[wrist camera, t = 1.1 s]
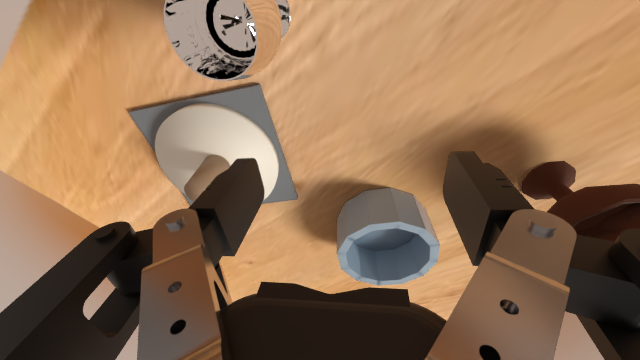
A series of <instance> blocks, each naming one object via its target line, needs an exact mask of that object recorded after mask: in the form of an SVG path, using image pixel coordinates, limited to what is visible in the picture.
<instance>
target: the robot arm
mask: <svg viewBox="0 0 640 360" xmlns="http://www.w3.org/2000/svg"><path fill="white" fill-rule="evenodd" d="M264 194H265V192H264V185H263V182H262V178H261V174H260V171H259V167H258V163H257V161H256V159H255V158H238V159H236V160H235V161H234V162H233V164H232V165H231V166H230V167H229V168H228V170H225V171H224V172H222V173H220V174H219V175H217V176H216V177H215V178H214V180H213V181H212V182H211V184H209V185H208V186H207V188H206V189H205V190H204V191H203V192H202V193H201V194H200V196H199V197H198V198H197V199H196V200H195V201H194V202H193V204H192V205H191V206H190V207H189V208H188V209H180V210H176V211H173V212H171V213H169V214H167V215H165V216H164V217H162V218H161V219H160V220H159V221H158V222H157V223H156V224H155V225H154V227H153V228H152V229H148V230H143V231H138V232H135V231H134V230H133V228H132V227H131V225H130V224H129V223H127V222H115V223H111V224H108V225H106V226H103V227H101V228H99V229H98V230H96V231H94V232H93V233H91V234H90V235H89V236H88V237H87V238H85V239H84V240H83V241H82V242H81V243H80V244H79V245H78V246H76V247H75V248H74V249H73V250H72V251H71V252H69V253H68V254H67V255H66V256H65V257H64V258H63V259H61V260H60V261H59V262H58V263H57V264H56V265H55V266H53V267H52V268H51V269H50V270H49V271H48V272H47V273H46V274H44V275H43V276H42V277H41V278H40V279H39V280H38V281H36V282H35V283H34V284H33V285H32V286H31V287H30V288H29V289H27V290H26V291H25V292H24V293H23V294H22V295H21V296H19V297H18V298H17V299H16V300H15V301H14V302H12V303H11V304H10V305H9V306H8V307H7V308H6V309H4V310H3V311H2V312H1V313H0V360H115V359H116V358H117V356H118V355H119V353H120V352H121V350H122V349H123V347H124V346H125V344H126V342H127V341H128V340H129V338H130V336H131V335H132V333H133V332H134V330H135V329H136V327H137V326H138V324H139V332H138V352H137V360H553V358H554V354H555V350H556V346H557V342H558V337H559V333H560V329H561V325H562V321H563V317H564V313H565V311H567V312H570V313H573V314H576V315H577V317H578V318H579V320H580V322H581V323H582V325H583V326H584V328H585V329H586V331H587V333H588V334H589V336H590V337H591V339H592V340H593V342H594V343H595V345H596V347H597V348H598V350H599V352H600V353H601V355H602V356H603V357H604V359H605V360H640V229H627V230H624V231H623V232H621V234H620V235H619V236H618V238H617V239H616V241H615V242H613V241H608V240H603V239H598V238H593V237H588V236H583V235H579V234H576V231H575V230H574V228H573V227H572V226H571V225H570V224H569V223H567V222H566V221H565V220H563V219H561V218H559V217H558V216H555V215H553V214H550V213H548V212H544V211H540V210H535V209H534V208H533V207H532V206H531V205H530V203H529V202H528V201H527V200H526V199H525V198H524V196H523V195H522V194H521V193H520V192H519V191H518V190H517V188H516V187H514V185H513V184H512V183H511V182H510V180H508V178H507V177H506V176H505V175H504V173H503V172H502V171H501V170H499V169H498V168H496V167H494V166H492V165H491V164H489V163H483V162H482V161H481V160H480V159H479V157H478V156H477V155H476V154H475V152H474V151H456V152H450V154H449V157H448V162H447V168H446V173H445V179H444V184H443V196H444V200H445V203H446V205H447V207H448V210H449V212H450V214H451V216H452V219H453V221H454V223H455V226H456V228H457V230H458V233H459V235H460V237H461V239H462V242H463V244H464V246H465V249H466V251H467V253H468V255H469V258H470V260H471V262H472V265H473V266H478V268H477V270H476V272H475V273H474V275H473V277H472V278H471V280H470V282H469V284H468V285H467V287H466V289H465V291H464V292H463V294H462V296H461V298H460V299H459V301H458V303H457V305H456V306H455V308H454V310H453V312H452V313H451V315H450V317H449V319H448V320H447V321H446V320H445V319H443V318H442V317H440V316H439V315H437V314H436V313H434V312H432V311H430V310H428V309H427V308H424V307H422V306H420V305H417V304H414V303H411V302H410V301H409V295H408V289H389V288H363V289H358V290H352V291H347V292H342V293H336V294H326V293H323V292H320V291H317V290H314V289H310V288H307V287H304V286H301V285H298V284H293V283H274V282H261V284H260V287H259V290H258V292H257V294H253V295H249V296H246V297H244V298H241V299H239V300H237V301H235V302H233V303H232V300H231V296H230V293H229V290H228V286H227V283H226V279H225V276H224V273H223V269H222V266H221V264H220V262H219V261H220V259H221V257H222V256H235V254H236V252H237V250H238V248H239V247H240V245H241V243H242V241H243V239H244V237H245V235H246V233H247V231H248V229H249V227H250V225H251V223H252V221H253V219H254V218H255V216H256V214H257V212H258V210H259V208H260V206H261V204H262V202H263V200H264ZM106 277H107V278H108V279H109V281H110V282H111V283H112V284H113V285H114V286H115V287H116V288H115V290H114V291H113V292H112V293H111V294H110V295H109V297H108V298H107V299H106V300H105V302H104V303H103V304H102V305H101V307H100V308H99V309H98V310H97V311H96V312H95V314H94V315H93V316H92V317H91V319H90V320H88V319H87V318H86V317H85V316H84V314H83V305H84V303H85V300H86V299H87V298H88V297H89V296H90V294H91V293H92V292H93V291H94V290H95V289H96V288H97V286H98V285H99V284H100V283H101V282H102V281H103V280H104V279H105V278H106Z"/></svg>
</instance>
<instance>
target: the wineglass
mask: <svg viewBox="0 0 640 360" xmlns="http://www.w3.org/2000/svg"><path fill="white" fill-rule="evenodd" d="M163 13H164V25H165V28H166V32H167V36H168V38H169V40H170V42H171V45H172V47H173V49H174V50H175V52H176V53H177V55H178V56H179V57H180V59H181V60H182V61H183V62H184V63H185V64H186V65H187V66H188V67H189V68H191V69H192V70H193V71H195V72H196V73H198V74H200V75H202V76H204V77H206V78H209V79H212V80H218V81H232V80H238V79H244V78H248V77H250V76H253V75H255V74H257V73H259V72H260V71H262V70H263V69H264V68H266V67H267V66H268V65H269V64H270V63H271V61H272V60H273V59H274V57H275V55H276V54H277V52H278V49H279V46H280V42H281V39H282V37H283V36H284V35H285V34H286V33H287V31H288V29H289V26H290V21H291V12H290V7H289V4H288V2H287V0H165V5H164V11H163Z"/></svg>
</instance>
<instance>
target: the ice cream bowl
mask: <svg viewBox="0 0 640 360" xmlns="http://www.w3.org/2000/svg"><path fill="white" fill-rule="evenodd" d="M575 175H576V170H575V169H574V167H572V166H571V165H569V164H568V163H566V162H565V161H562V162H549V163H546V164H544V165H542V166H540V167H538V168H536V169H534V170H532V171H531V172H530V173H529V174H528V176H527V177H526V178H525V179H524V181H523V182H522V192H523V193H524V194H526V195H528V196H530V197H531V198H533V199H535V200H538V199H550V198H554V199H555V200H556V201H557V202H556V203H555V204H554V205H553V206H552V207H551V208H550V209H549V210H548V211H547V212H548V213H550V214H553V215H555V216H558V217H559V218H561V219H563V220H565V221H566V222H567V223H569V224H570V225H571V226H572V227H573V228H574V230H575V231H576V234H579V235H583V236H588V237H593V238H598V239H603V240H608V241H613V242H615V241H616V239H617V238H618V236H619V235H620V234H621V232H623V231H624V230H627V229H640V185H639V184H624V185H609V186H595V187H585V188H583V189H580V190H578V191H576V192H573V191H572V190H570V189H569V187H570V186H571V185H572V184H573V183H574V182H575Z"/></svg>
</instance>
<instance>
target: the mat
mask: <svg viewBox="0 0 640 360" xmlns="http://www.w3.org/2000/svg"><path fill="white" fill-rule="evenodd" d="M199 103H211V104H218V105H222V106H226V107H229V108H232V109H234V110H237V111H239V112H241V113H242V114H244V115H246V116H247V117H249V118H250V119H252V120H253V121H254V122H255V123H257V124H258V125H259V126H260V127H261V128H262V129H263V130H264V131H265V133H266V134H267V135H268V136H269V138H270V139H271V141H272V143H273V144H274V147H275V149H276V152H277V155H278V160H279V173H278V178H277V181H276V184H275V186H274V189H273V190H272V192H271V193H270V195H269V196H268V197H267V198H266V199H265V200H263V202H262V204H265V203H273V202H281V201H289V200H296V199H297V198H298V196H297V193H296V190H295V187H294V184H293V181H292V178H291V175H290V172H289V169H288V166H287V163H286V160H285V157H284V154H283V151H282V148H281V145H280V142H279V139H278V136H277V133H276V130H275V127H274V124H273V122H272V119H271V116H270V113H269V110H268V107H267V104H266V101H265V98H264V95H263V92H262V89H261V86H260V84H256V85H251V86H247V87H242V88H237V89H232V90H227V91H223V92H218V93H213V94H208V95H203V96H199V97H194V98H189V99H184V100H180V101H175V102H170V103H165V104H160V105H156V106H151V107H146V108H141V109H136V110H132V111H130V112H129V114H130V115H131V117H132V118H133V120H134V121H135V123H136V124H137V126H138V127H139V129H140V130H141V132H142V133H143V135H144V136H145V138H146V139H147V141H148V142H149V144H150V145H151V147H152V148H153V150H154V151H155V139H156V134H157V131H158V129H159V127H160V126H161V124H162V123H163V122H164V121H165V120H166V119H167V118H168V117H169V116H170V115H172V114H173V113H174V112H176V111H177V110H179V109H181V108H183V107H185V106H188V105H192V104H199ZM155 153H156V152H155ZM182 193H183V192H182ZM183 195H184V196H185V198H186V199H187V201H188V202H189V204H190V205H192V204H193V202H194V201H192V200H191V199H189V198H188V197H187V195H185V194H184V193H183Z"/></svg>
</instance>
